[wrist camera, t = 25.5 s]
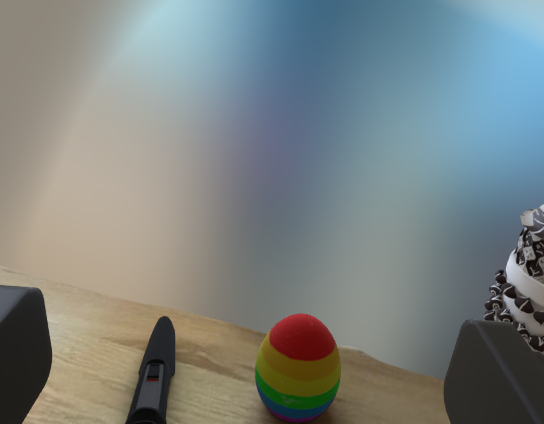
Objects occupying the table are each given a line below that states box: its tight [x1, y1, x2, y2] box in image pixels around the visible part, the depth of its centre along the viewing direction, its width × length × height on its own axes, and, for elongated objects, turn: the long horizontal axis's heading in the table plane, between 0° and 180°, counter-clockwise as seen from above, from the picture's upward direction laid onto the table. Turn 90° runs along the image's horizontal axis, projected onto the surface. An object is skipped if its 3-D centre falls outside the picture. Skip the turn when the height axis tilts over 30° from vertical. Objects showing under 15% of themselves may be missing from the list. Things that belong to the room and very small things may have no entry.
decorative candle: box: [450, 204, 544, 424], centre depth 35 cm, size 9×9×25 cm
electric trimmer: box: [125, 316, 175, 424], centre depth 45 cm, size 4×16×3 cm, turn 4°
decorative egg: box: [255, 314, 341, 422], centre depth 44 cm, size 8×8×10 cm
